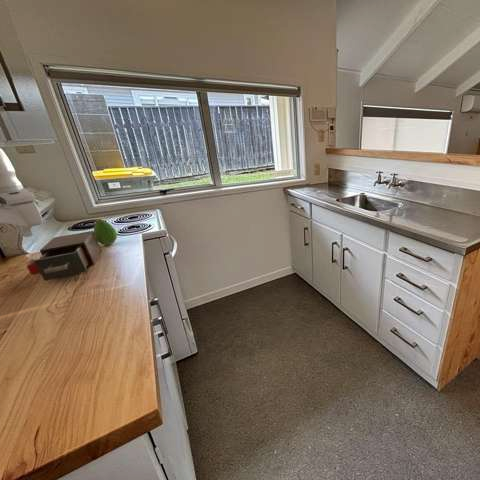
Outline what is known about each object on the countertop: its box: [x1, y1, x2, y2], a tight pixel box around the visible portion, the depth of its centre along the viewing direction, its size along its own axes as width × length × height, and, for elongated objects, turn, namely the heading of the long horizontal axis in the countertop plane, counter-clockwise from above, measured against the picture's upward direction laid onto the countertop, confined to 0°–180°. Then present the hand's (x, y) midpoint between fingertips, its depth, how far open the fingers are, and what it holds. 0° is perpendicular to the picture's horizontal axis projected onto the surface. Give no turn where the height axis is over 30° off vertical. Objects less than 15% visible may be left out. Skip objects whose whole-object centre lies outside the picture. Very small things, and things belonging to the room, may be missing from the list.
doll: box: [26, 258, 40, 275], centre depth 95 cm, size 3×2×6 cm
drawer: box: [34, 245, 90, 282], centre depth 93 cm, size 18×11×8 cm, turn 29°
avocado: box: [93, 219, 118, 246], centre depth 117 cm, size 8×8×12 cm
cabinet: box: [39, 230, 103, 267], centre depth 101 cm, size 15×13×10 cm
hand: (27, 236), depth 87 cm, fingers closed
